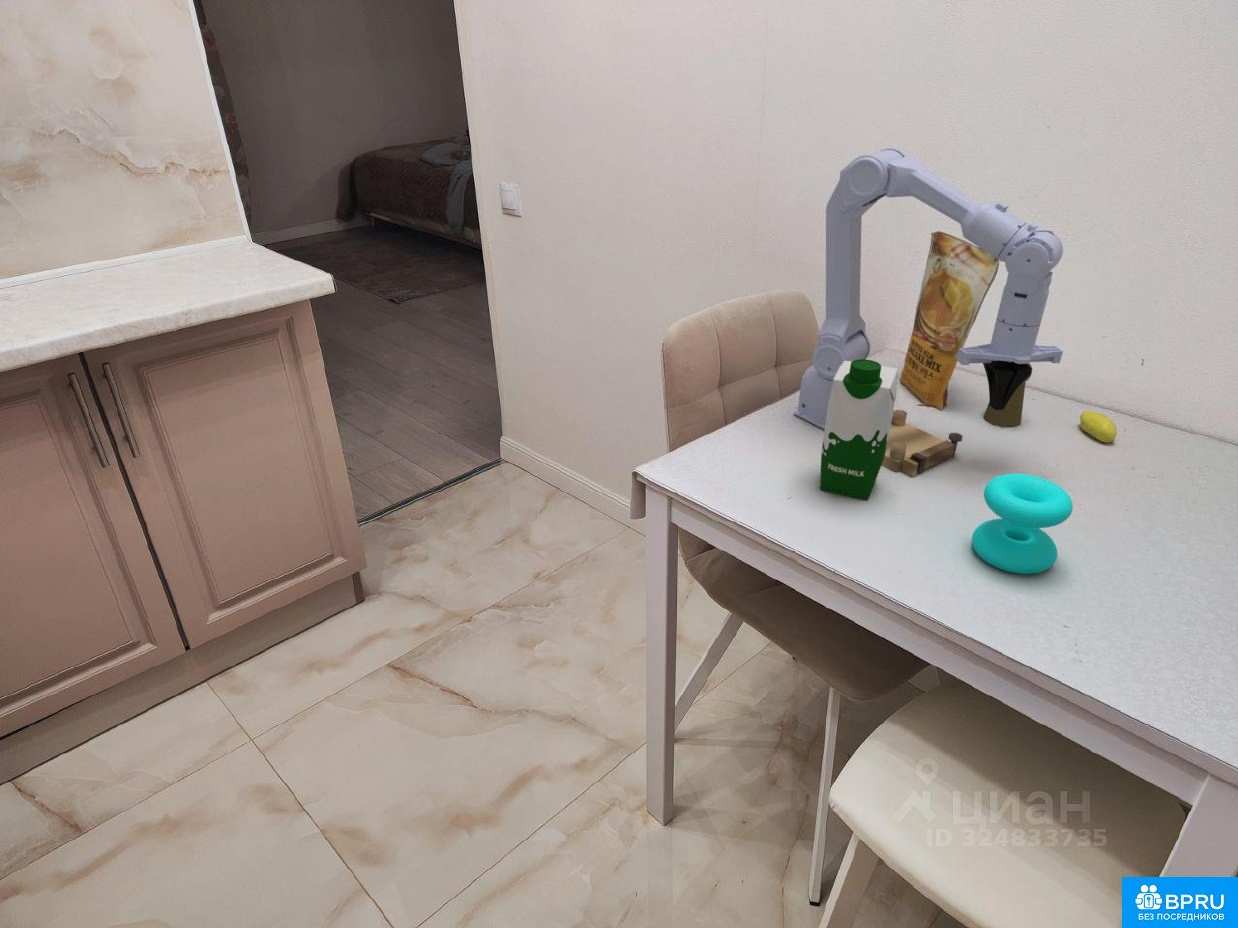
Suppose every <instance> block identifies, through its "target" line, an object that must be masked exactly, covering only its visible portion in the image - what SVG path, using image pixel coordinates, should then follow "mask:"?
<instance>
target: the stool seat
mask: <svg viewBox="0 0 1238 928" xmlns="http://www.w3.org/2000/svg"><path fill="white" fill-rule="evenodd" d="M907 415H908V412H907V410H906V411H905V410H902V409H893V415H892V421H891V426H890V432H889V437H888V443H887V448H886V453H885V457H884V460H883V463H882V465H881V466H883V467H884V468H887V469H889V470H891V471H892V472H894V473H898V472H901V473H903V472H904V473H903V474H905V475H906V474H907V476H908V475H909V476H908V477H910V476H911V477H910V478H914V477H916V476H917V474H918V472H917V469H918V464H919V463H917V462H915V461H913V460H911V455H912V454H914V453H916V452H917V453H919V452H921V451H923V450H926V449H928V448H930V447H932V446H935V445H937V444H939V443H942V442H944V441H945V440H944V439H942V438H940V437H938V436H935V435H933V434H932V433H929V432H927V431H925V430H923V429H920V428H918V427H915V426H913V425H911V424H909V423H907V422H906V420H907ZM948 441H950V442H951V443H954V444H955V448H954V452H953V456H952V457H951V458H954V457H955V455H956V451H957V447H958V443H959V442H962V441H963V434H961V433H959V432H950V433H949V434H948Z"/></svg>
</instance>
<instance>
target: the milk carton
mask: <svg viewBox="0 0 1238 928" xmlns="http://www.w3.org/2000/svg"><path fill="white" fill-rule="evenodd" d="M897 375H898V368H896V367H892V366H890V367H889V366H883V365H881V363H879V362H878V361H875V360H871V359H867V358H866V359H859V360H854V361H852V362H851V361H844V362H843V364H842V365H841V366H840V367H839V369H838V371H837V373H836V375H835V377H834V379H833V382H832V387H831V394H830V398H829V403H828V409H827V417H826V424H825V430H824V432H823V440H822V447H821V456H820V477H819V478H820V480H819V481H820V484H819V491H823V492H827V493H831V494H836V495H842V496H847V497H851V498H856V499H859V500H865V501H868V500H869V498H870V496H871V493H872V491H873V488H874V485H875V483H876V480H877V477H878V475H879V473H880V470H881V468H882V466H883V465H882V463H883V460H884V457H885V453H886V448H887V443H888V437H889V432H890V426H891V421H892V416H893V411H894V410H895V409H894V408H895V402H896V399H897V393H898V387H897V384H898V383H897V379H898V376H897Z"/></svg>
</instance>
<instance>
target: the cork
mask: <svg viewBox="0 0 1238 928" xmlns="http://www.w3.org/2000/svg"><path fill="white" fill-rule="evenodd" d="M1028 365H1029V366H1030V367H1032V365H1031V362H1030V363H1029V364H1028ZM1032 373H1033V371H1032V372H1031V375H1030V376H1029V377H1027V378H1026V379H1025V380H1024V381H1023V382H1022V383H1021V384H1020V385H1019V387H1018V388H1017V389H1016V390H1015V392H1014V393H1013V395H1012V396H1011V398H1010V399H1009V401H1008V403H1007V405H1006V406H1005V408H1004V410H994V409H993V408H992V407H991V406H990V405H989V403H988V404H987V407H986V409H985V411H984V415H983V417H982V418H983V420H984V421H985V422H986V423H988V424H991V425H993V426H996V427H1000V428H1008V429H1012V428H1017V427H1019V426H1021V424H1022V416H1023V408H1024V400H1025V399H1024V397H1025V390H1026V382H1028V381H1029V379H1030V378H1031V376H1032Z"/></svg>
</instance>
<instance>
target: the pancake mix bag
mask: <svg viewBox="0 0 1238 928" xmlns="http://www.w3.org/2000/svg"><path fill="white" fill-rule="evenodd" d="M930 234H931V239H930V246H929V252H928V255H927V258H926V264H925V269H924V274H923V279H922V282H921V288H920V293H919V296H918V299H917V303H916V306H915V308H916V309H915V316H914V320H913V321H914V322H913V329H912V333H911V335H910V340H909V344H908V348H907V349H906V350H907V351H906V355H905V358H904V364H903V368H902V371H901V375H900V383H902V385H903V386H904V387H905V388H906V389H907V390H908V391H909V392H911V394H912V395H914V396H915V397H916V398H917V400H919V401H920V402H921V403H922V404H924V405H925V406H926V407H931V408H932V407H933V408H937V409H939V410H941V411H943V410H944V409H945V408H946V407H947V406H948V404H947V402H948V397H949V392H948V391H949V390H948V387H949V383H950V380H951V379H952V376H953V375H954V371H955V369H956V366H957V364H958V361H957V356H958V352H959V348H964V346H965V343H966V342H967V339H968V336H969V335H970V332H971V329H972V328H973V326H974V324H975V322H976V320H977V316H978V314H979V313H980V310H981V307H982V305H983V303H984V300H985V298H986V295H988V292H989V290H990V288H991V286H992V284H993V283H994V281H995V279H996V276H997V273H998V271H999V266H1000V261H999V260H998V259H996V258H995V257H993V256H992V255H990V254H989V253H987V252H985V251H984V250H982V249H981V248H979V247H978V246H976V245H975V244H974V245H973V243H971V242H969V241H966V240H964V239H961V238H959V237H956V236H953V235H952V234H948V233H945V232H943V231H940V230H937V231H935V232H934V231H933V232H931V233H930Z"/></svg>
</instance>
